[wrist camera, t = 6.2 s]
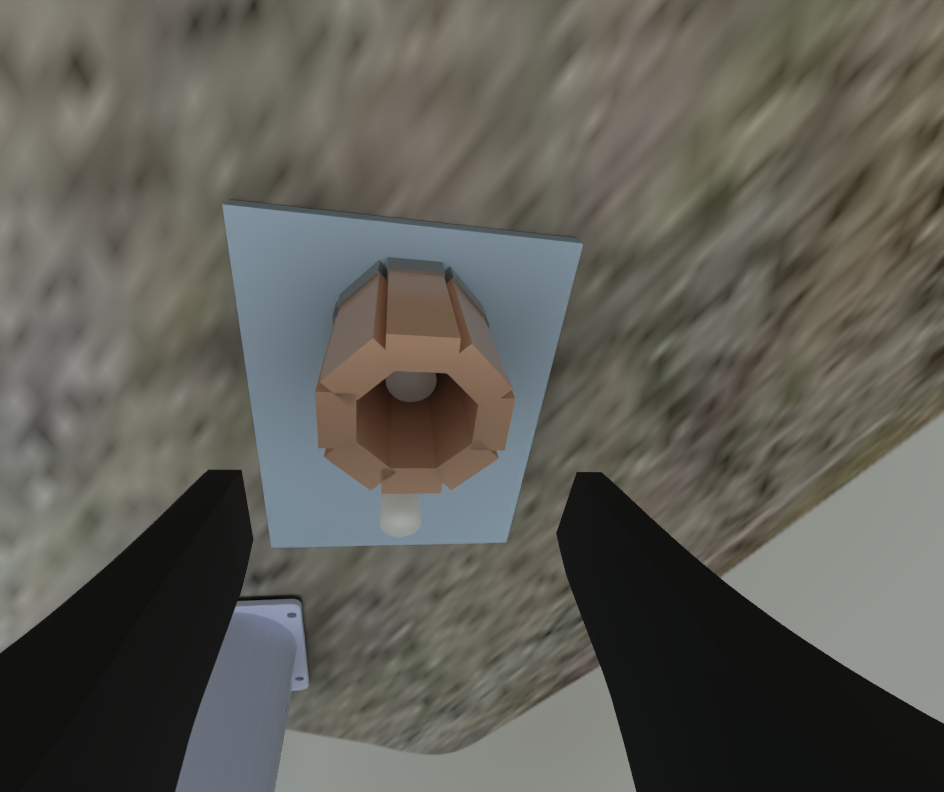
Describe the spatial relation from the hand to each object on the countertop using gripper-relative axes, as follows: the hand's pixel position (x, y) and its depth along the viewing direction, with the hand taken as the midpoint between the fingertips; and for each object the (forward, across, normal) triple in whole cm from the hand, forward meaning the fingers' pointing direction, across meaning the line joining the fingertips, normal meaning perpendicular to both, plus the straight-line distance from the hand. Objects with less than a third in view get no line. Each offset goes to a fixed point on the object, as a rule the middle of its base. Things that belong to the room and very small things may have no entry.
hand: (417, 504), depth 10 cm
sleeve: (+9, 0, 0) cm, 9 cm away
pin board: (+10, 0, +4) cm, 10 cm away
